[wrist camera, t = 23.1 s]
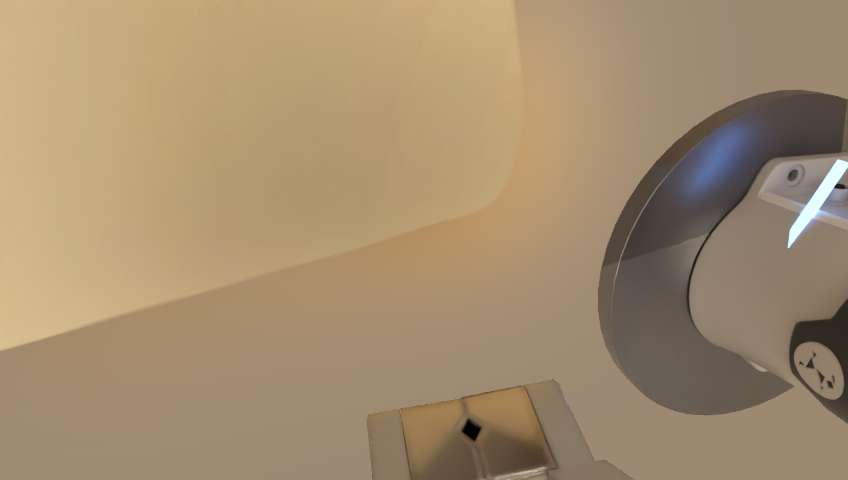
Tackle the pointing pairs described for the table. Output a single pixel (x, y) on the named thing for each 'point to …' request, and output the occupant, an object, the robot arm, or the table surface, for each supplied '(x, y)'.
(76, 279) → the table surface
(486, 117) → the table surface
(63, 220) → the table surface
